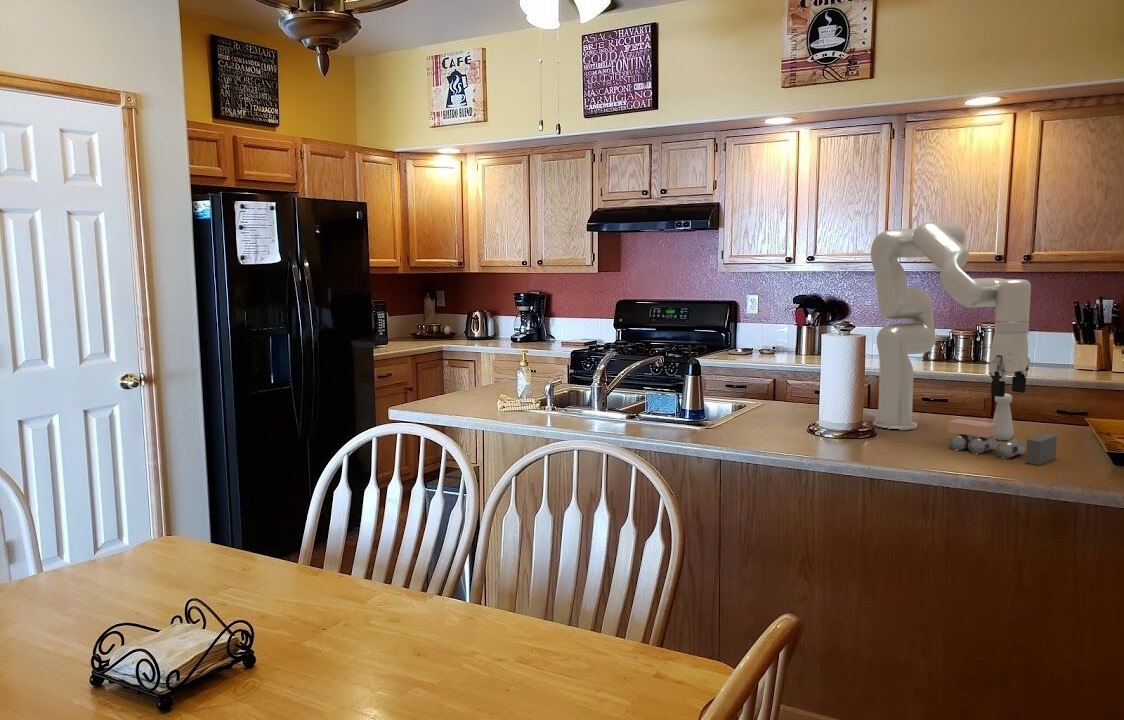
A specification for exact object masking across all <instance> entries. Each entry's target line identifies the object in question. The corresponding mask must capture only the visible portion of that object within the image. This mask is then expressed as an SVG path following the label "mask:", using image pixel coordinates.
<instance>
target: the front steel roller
mask: <svg viewBox="0 0 1124 720" xmlns="http://www.w3.org/2000/svg"><path fill="white" fill-rule="evenodd" d="M996 447H997V440H996V439H995V438H994V437H993V436H990V437H987V438H986V437H979V436H977V438H975V439H972V440H970V441H969V443H968V448H967V449H968V450H969V452H971V453H972V452H974V453H973V454H975V453H980V454H982V453H985V452H988V451H991V450H993V449H996Z"/></svg>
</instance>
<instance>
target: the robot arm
mask: <svg viewBox="0 0 1124 720" xmlns="http://www.w3.org/2000/svg"><path fill="white" fill-rule="evenodd" d="M965 239H966V233H965V231H964V229H963V228H962V227H961V225H959V224H958V223H956V222H952V221H928V222H924V223H921V224H920V225H918V226H917V227H916V228H893V229H887V230H885V231H882V232H880V233H879V234H878V235H876V237H875V238H874V240H873V241H872V243H871V247H870V261H871V263H872V269H873V272H874V276H875V283H876V286H875V287H876V294H877V295H876V296H877V304H878V310H879V313H880V316H882V318H884V319H886V320H907V322H905V323H893V324H888V325H885V326H883V327H882V328H881V329H880V330H879V331H878V333H877V336H876V346H877V351H878V360H879V374H878V375H879V377H878V378H879V380H878V381H879V383H878V388H879V389H878V410H873V409H869V410H868V411H867V417H869V418H870V417H871V418H874V420H873V421H872V426H874V425H875V426H878V427H882V428H888V429H887V430H889V429H899V430H898V431H909V430H910V429H911V430H916V429H917V428H918V422H915V421H913V398H914V397H913V396H914V395H913V394H914V390H913V389H914V367H913V365H912V361H911V360H910V358H909V356H910V355H919V354H926V353H928V352H930V351H931V350H932V349H933V348H934V345H935V343H936V328H935V318H934V309H933V302H932V299H931V296H930V295H929V293H928V292H927V291H926V290H925V289H923V288H921V287H908V285H907V274H906V272H905V269H904V267H903V266H902V264H901V263H900V261H898V259H900V258H924V257H925V258H927V259H928V260H929V261H930V262H931V263H932V264H933V265H934V266H935V267H936V268H937V269H938V270H939V271H940V273H939V278H940V283H941V285H942V288H943V289H944V291H945V292H946V293H947V294H948V295H949V296H950V297H951V298H952V299H953V300H954V301H955V302H957V303H958V304H959V305H961V306H963V307H965V308H991V307H992V308H994V307H995V316H994V335H993V338H992V342H991V347H990V348H991V349H990V355H989V356H990V357H989V364H988V369H989V376H990V381H991V385H990V386H991V389H990V395H991V396H992V397H995V396H998V397H1004V396H1005V393H1006V381H1005V378H1006V376H1007V374H1013V375H1012V379H1011V381H1012V383H1011V391H1012V392H1014V393H1021V394H1024V393H1026V387H1027V386H1026V385H1027V377H1028V371H1029V369H1030V368H1029V366H1030V362H1031V359H1030V358H1029V341H1028V340H1029V339H1028V335H1029V332H1030V331H1029V330H1030V329H1029V328H1030V315H1031V314H1030V310H1031V309H1030V308H1031V295H1032V294H1031V291H1032V285H1031V282H1030V281H1029V280H1027V279H1020V278H1019V279H1016V278H1012V279H1009V278H1008V279H1006V278H999V277H983V278H981V277H980V278H978V277H977V278H972V277H970V276H969V275H968V274H967V273H966V272H965V271H964V270H962V268H964V266H965V265H966V264H967V262H968V260H969V257H970V253H969V249H968V248H966V247H965V246H964V243H965V242H966V241H965ZM875 426H874V427H875ZM878 427H877V428H878ZM882 428H881V429H882ZM911 430H910V431H911Z"/></svg>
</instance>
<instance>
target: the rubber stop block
mask: <svg viewBox="0 0 1124 720" xmlns="http://www.w3.org/2000/svg"><path fill="white" fill-rule="evenodd" d="M1057 437H1058V435H1056V434H1048V433H1042V434H1039V435H1036V436H1033V437H1031V438H1027V439H1026V456H1025V457H1026V459H1025V464H1028V463H1030V464H1029V465H1034V464H1036V466H1041V464H1042V465H1043V463H1044V464H1046V463H1049V462H1051V461H1053V460H1056V459H1055V458H1056V457H1057V454H1056V453H1057V441H1058V439H1057ZM1050 460H1051V461H1050ZM1048 461H1049V462H1048Z"/></svg>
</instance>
